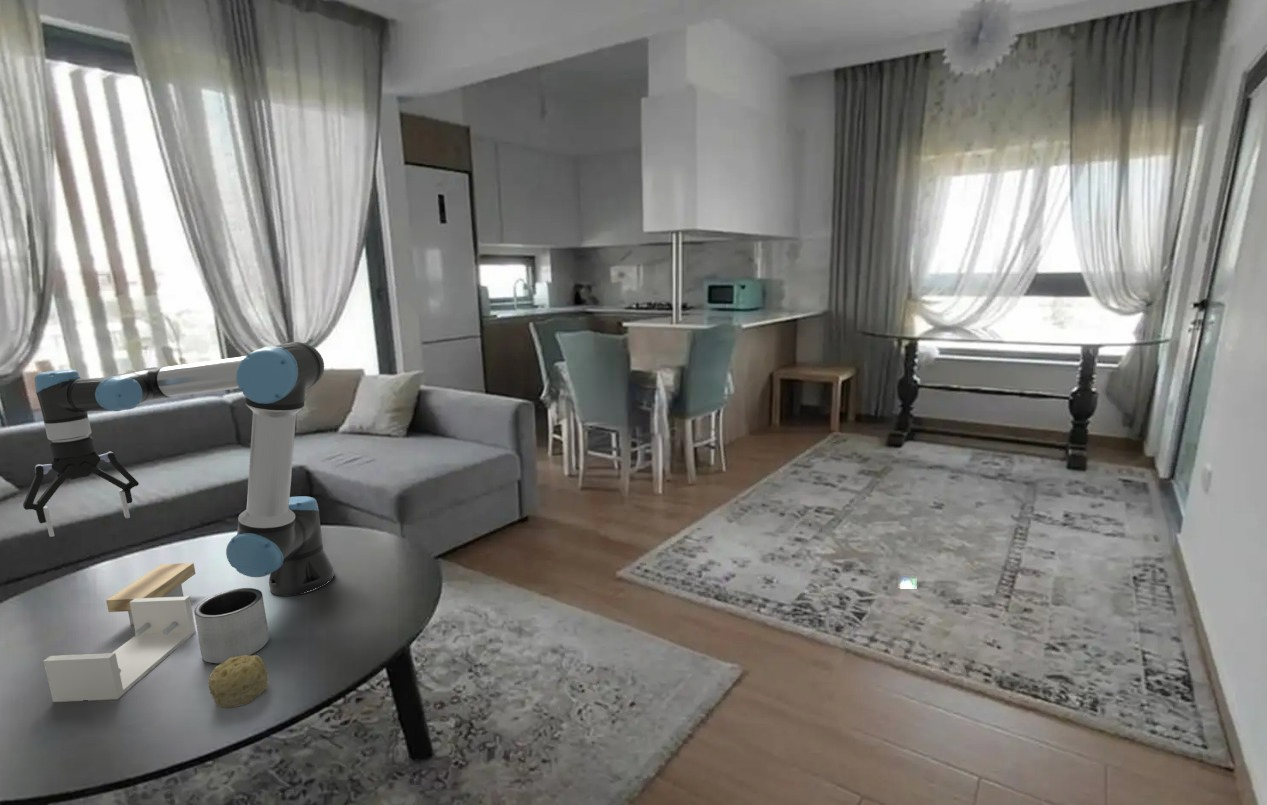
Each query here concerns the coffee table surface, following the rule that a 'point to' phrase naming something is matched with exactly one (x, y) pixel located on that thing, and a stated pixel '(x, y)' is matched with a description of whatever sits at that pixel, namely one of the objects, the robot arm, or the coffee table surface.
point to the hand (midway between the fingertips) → (90, 525)
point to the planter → (231, 624)
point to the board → (152, 585)
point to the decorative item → (238, 681)
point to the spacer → (174, 593)
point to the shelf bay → (123, 653)
